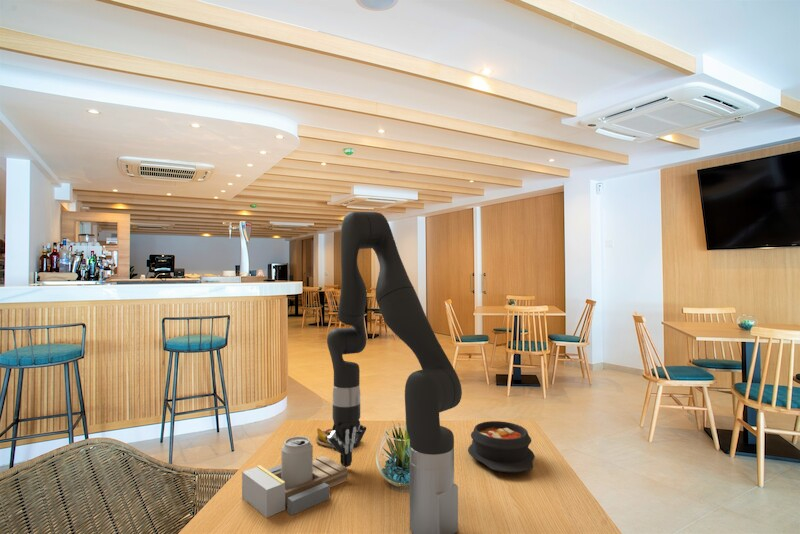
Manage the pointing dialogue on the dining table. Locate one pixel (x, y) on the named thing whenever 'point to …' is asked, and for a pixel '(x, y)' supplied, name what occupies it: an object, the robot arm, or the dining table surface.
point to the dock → (277, 492)
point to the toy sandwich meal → (322, 435)
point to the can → (296, 461)
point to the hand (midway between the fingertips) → (346, 465)
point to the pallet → (320, 476)
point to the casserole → (502, 446)
